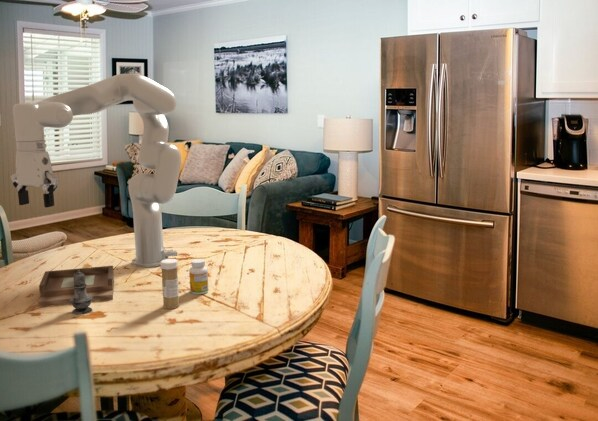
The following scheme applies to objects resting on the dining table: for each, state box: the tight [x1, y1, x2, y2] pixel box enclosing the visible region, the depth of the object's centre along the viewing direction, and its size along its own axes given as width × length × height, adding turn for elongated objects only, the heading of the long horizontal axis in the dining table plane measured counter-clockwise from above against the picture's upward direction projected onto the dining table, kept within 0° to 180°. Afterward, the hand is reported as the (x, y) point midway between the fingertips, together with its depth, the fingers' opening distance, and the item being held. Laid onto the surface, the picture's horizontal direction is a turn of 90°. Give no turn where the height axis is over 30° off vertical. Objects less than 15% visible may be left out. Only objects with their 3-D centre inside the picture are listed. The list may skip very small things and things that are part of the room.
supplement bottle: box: [189, 258, 209, 295], centre depth 178 cm, size 5×5×10 cm
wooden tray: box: [37, 265, 115, 308], centre depth 178 cm, size 20×18×5 cm
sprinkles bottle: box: [160, 258, 180, 310], centre depth 165 cm, size 5×5×14 cm
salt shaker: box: [70, 270, 93, 316], centre depth 163 cm, size 6×6×12 cm
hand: (36, 205), depth 173 cm, fingers open, 9 cm apart
